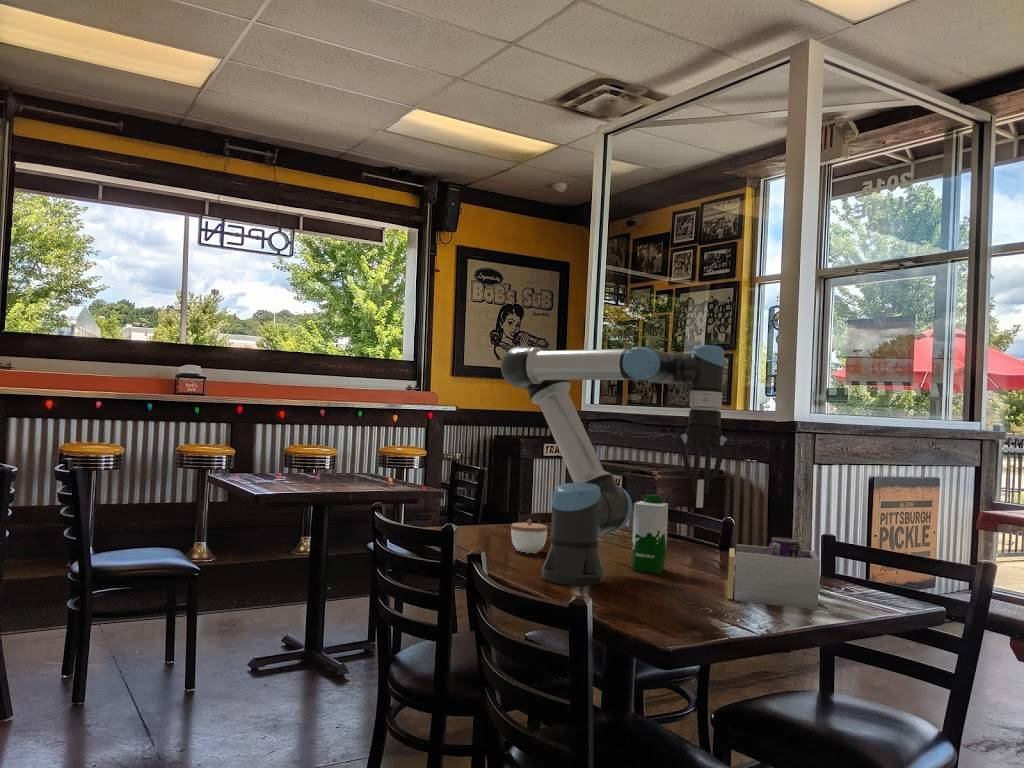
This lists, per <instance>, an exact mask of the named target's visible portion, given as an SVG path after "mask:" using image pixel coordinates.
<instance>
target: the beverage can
mask: <svg viewBox="0 0 1024 768" xmlns="http://www.w3.org/2000/svg"><path fill="white" fill-rule="evenodd" d="M768 547H769V555H778V556H788V557H799V558H801V550H802V548H801V545H800V540H799V539H796V538H792V537H791V538H790V537H782V536H781V537H779V536H777V537H771V541H770V543H769V546H768Z"/></svg>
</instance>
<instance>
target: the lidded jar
mask: <svg viewBox="0 0 1024 768" xmlns="http://www.w3.org/2000/svg"><path fill="white" fill-rule="evenodd" d="M510 528H511V529H510V535H511V542H512V544H513V547H514V548H515V550H517V552H518V551H521V552H526V553H525V554H529V553H533V554H538V553H539V551H541V550H542V549H543V548H544V546H545V543H546V542H547V541H546V540H547V536H548V525H545V524H541V523H534V522H532V519H530V518H529V519H528V520H527V522H513V523H512V524H510ZM521 552H520V553H521ZM537 552H538V553H537Z"/></svg>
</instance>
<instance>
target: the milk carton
mask: <svg viewBox="0 0 1024 768" xmlns="http://www.w3.org/2000/svg"><path fill="white" fill-rule="evenodd" d="M633 504H634V510H633V522H632V523H633V524H632V546H631V548H632V549H631V555H632V557H631V558H632V560H631V561H632V564H631V565H632V571H634V572H642V573H651V574H659V573H661V572H662V571H664V569H665V563H666V562H665V561H666V556H667V555H666V554H667V543H668V542H667V541H668V518H669V517H668V512H669V511H668V510H669V504H668V503H665V502H661V495H660V494H651V493H650V494H645V499H644V500H640V501H636V502H634V503H633Z"/></svg>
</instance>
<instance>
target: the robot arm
mask: <svg viewBox="0 0 1024 768" xmlns="http://www.w3.org/2000/svg"><path fill="white" fill-rule="evenodd" d="M725 365H726V364H725V349H723V347H721V346H718V345H708V344H700V345H694V346H693V348H692V352H690V353H674V352H673V353H672V352H666V351H661V350H658V349H652V348H650V347H647V346H635V347H632V348H613V349H612V348H610V349H609V348H608V349H607V348H606V349H605V348H602V349H568V350H566V349H562V350H559V349H558V350H553V349H549V348H541V347H540V346H529V345H518V346H517V345H516V346H514V347H512V348H509V350H508V351H506V352H505V353H504V355H503V357H502V359H501V363H500V371H501V375H502V378H504V380H505V382H507V383H508V384H509V385H511V386H512V387H514V388H516V389H523V390H526V391H527V394H528V396H529V398H530V400H531V403H532V404H534V405H538V406H539V407H540V409H541V412H542V414H543V416H544V418H545V421H546V423H547V425H548V427H549V430H550V432H551V434H552V436H553V438H554V440H555V443H556V445H557V447H558V450H559V452H560V455H561V457H562V459H563V461H564V464H565V466H566V468H567V470H568V474H569V475H570V478H571V480H572V482H573V483H572V482H568V483H563V484H560V485H557V486H556V487H555V488H554V490H553V495H552V500H551V505H552V506H551V508H552V509H551V525H550V526H551V528H550V529H551V530H550V544H549V546H550V547H549V550H548V552H547V555H546V557H545V560H544V562H543V566H542V568H541V579H543V580H544V581H546V582H550V583H553V584H559V585H565V586H575V587H576V586H578V587H579V586H580V587H584V586H597V585H601V584H602V583H604V570H603V566H602V562H601V561H602V560H601V559H600V555H599V550H598V547H599V546H598V545H599V543H598V542H599V534H604V533H613V532H615V531H617V530H620V529H621V528H624V526H626V525H627V523H628V522H629V521H630V519H631V515H632V512H633V502H632V499H631V496H630V495H629V493H628V491H626V489H624V488H622V487H620V486H618V485H617V483H616V480H615V479H614V476H613V474H612V473H611V472H608V471H605V470H604V469H603V466H602V464H601V462H600V460H599V458H598V455H597V452H596V450H595V448H594V447H593V444H592V442H591V440H590V438H589V435H588V434H587V431H586V429H585V427H584V424H583V422H582V421H581V417H580V415H579V414H578V411H577V409H576V406H575V405H574V402H573V401H572V398H571V396H570V394H569V392H570V389H571V383H570V381H621V380H622V381H625V380H626V381H648V382H650V383H652V384H653V383H654V384H655V383H656V384H659V385H662V384H663V385H664V384H672V385H673V384H674V385H676V384H682V385H690V392H689V393H690V394H689V396H690V398H689V408H690V407H691V409H690V410H689V411H688V412H689V413H688V425H687V428H686V431H685V433H683V434H681V435H680V436H679V435H678V436H677V437H676V441H677V443H678V444H679V446H680V450H681V457H682V462H683V466H684V467H683V469H684V473H685V474H684V475H685V476H687V477H689V478H690V479H692V490H691V491H692V493H695V494H696V503H695V508H698V509H699V508H700V509H703V507H704V495H705V494H706V495H708V494H709V489H710V481H711V480H714V479H717V477H718V474H719V471H720V469H721V465H722V463H723V459H724V456H725V453H726V450H727V448H728V447H729V446H730V444H731V439H727V438H726V437H725V436H723V432H722V430H721V422H722V412H721V411H720V410H721V409H722V404H723V386H724V385H723V383H724V373H725V372H724V371H725ZM688 440H689V441H690V442H691V444H692V446H694V456H693V471H692V470H691V465H690V460H689V459H690V457H689V453H688V448H687V442H688ZM719 440H720V442H719V445H720V449H719V451H718V455H717V458H716V461H715V464H714V468H713V471H712V473H710V472H711V461H712V460H711V458H712V457H711V456H712V448H713V447H714V446H715V445H716V444H717V443H718V441H719ZM701 448H704V449H705V454H704V455H705V457H704V471H703V479H699V474H700V461H701V459H700V458H701Z"/></svg>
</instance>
